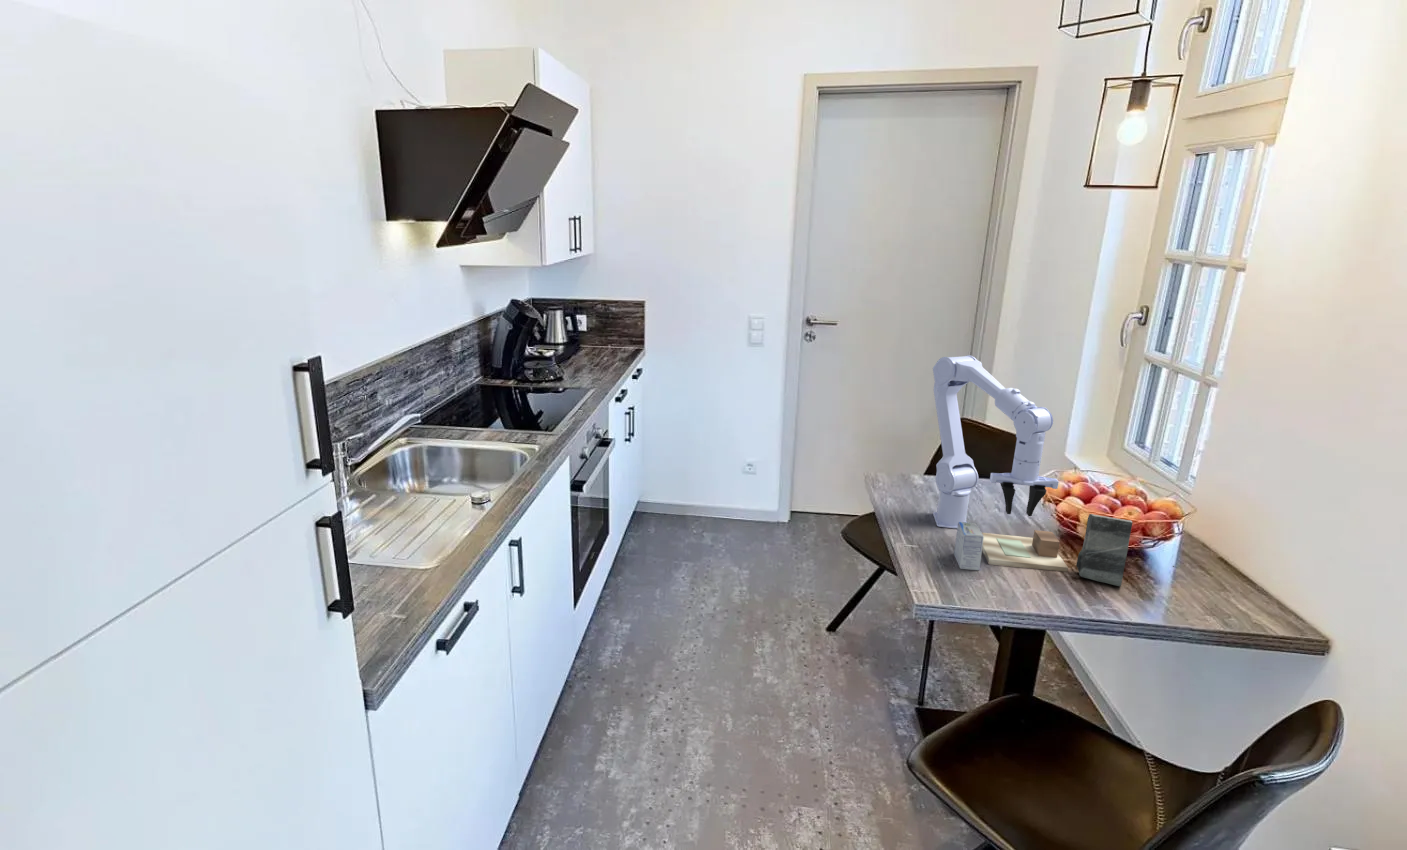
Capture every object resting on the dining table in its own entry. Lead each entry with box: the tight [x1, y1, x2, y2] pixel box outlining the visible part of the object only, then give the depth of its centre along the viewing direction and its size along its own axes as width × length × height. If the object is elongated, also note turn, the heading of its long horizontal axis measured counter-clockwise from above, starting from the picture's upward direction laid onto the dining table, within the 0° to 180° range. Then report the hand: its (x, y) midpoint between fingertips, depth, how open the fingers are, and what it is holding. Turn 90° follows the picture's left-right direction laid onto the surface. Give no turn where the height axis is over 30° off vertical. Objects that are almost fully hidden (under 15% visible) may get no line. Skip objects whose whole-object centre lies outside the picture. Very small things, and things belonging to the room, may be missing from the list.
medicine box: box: [953, 521, 984, 571], centre depth 160 cm, size 8×4×9 cm, turn 170°
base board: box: [982, 532, 1069, 573], centre depth 166 cm, size 16×17×2 cm
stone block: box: [1076, 513, 1133, 587], centre depth 153 cm, size 9×14×5 cm
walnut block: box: [1032, 529, 1060, 558], centre depth 164 cm, size 6×4×4 cm, turn 169°
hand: (1018, 513), depth 164 cm, fingers open, 4 cm apart
